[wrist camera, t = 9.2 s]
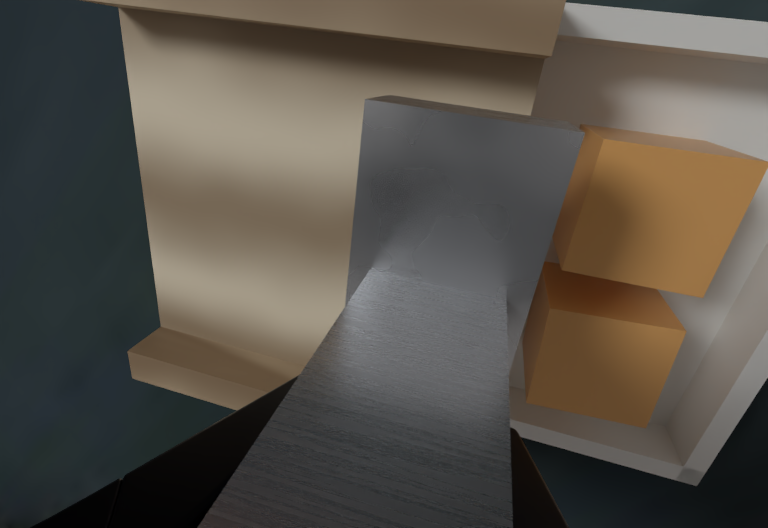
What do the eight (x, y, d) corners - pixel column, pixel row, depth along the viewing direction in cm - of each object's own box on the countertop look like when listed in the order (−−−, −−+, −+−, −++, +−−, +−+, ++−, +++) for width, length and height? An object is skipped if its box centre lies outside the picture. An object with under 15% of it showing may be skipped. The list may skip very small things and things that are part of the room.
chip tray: (671, 431, 20) (696, 486, 17) (458, 375, 22) (452, 417, 19) (886, 50, 13) (984, 43, 10) (547, 14, 15) (556, 1, 12)
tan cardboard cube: (549, 229, 17) (659, 248, 16) (561, 270, 13) (702, 298, 12) (580, 124, 15) (705, 140, 14) (603, 139, 12) (770, 162, 11)
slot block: (458, 375, 22) (443, 473, 16) (214, 311, 24) (132, 378, 19) (547, 14, 15) (571, -19, 9) (191, -22, 17) (52, -65, 12)
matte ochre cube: (522, 341, 19) (618, 359, 18) (526, 402, 16) (645, 428, 15) (541, 260, 17) (648, 276, 17) (550, 308, 14) (686, 331, 13)
